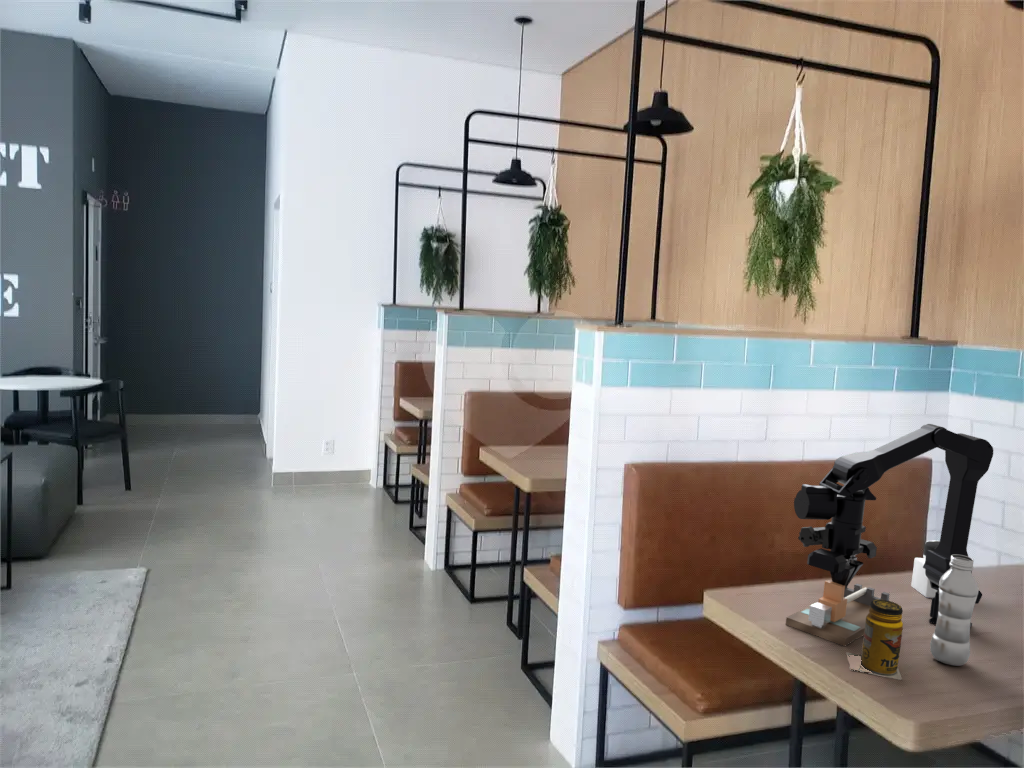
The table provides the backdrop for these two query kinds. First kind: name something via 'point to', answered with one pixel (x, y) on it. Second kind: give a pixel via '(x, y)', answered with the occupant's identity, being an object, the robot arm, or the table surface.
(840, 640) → the cord board
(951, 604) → the plastic bottle
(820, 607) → the block
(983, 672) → the table surface
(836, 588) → the orange stepped block
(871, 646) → the condiment
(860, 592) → the cord
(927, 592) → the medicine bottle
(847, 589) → the cable comb
